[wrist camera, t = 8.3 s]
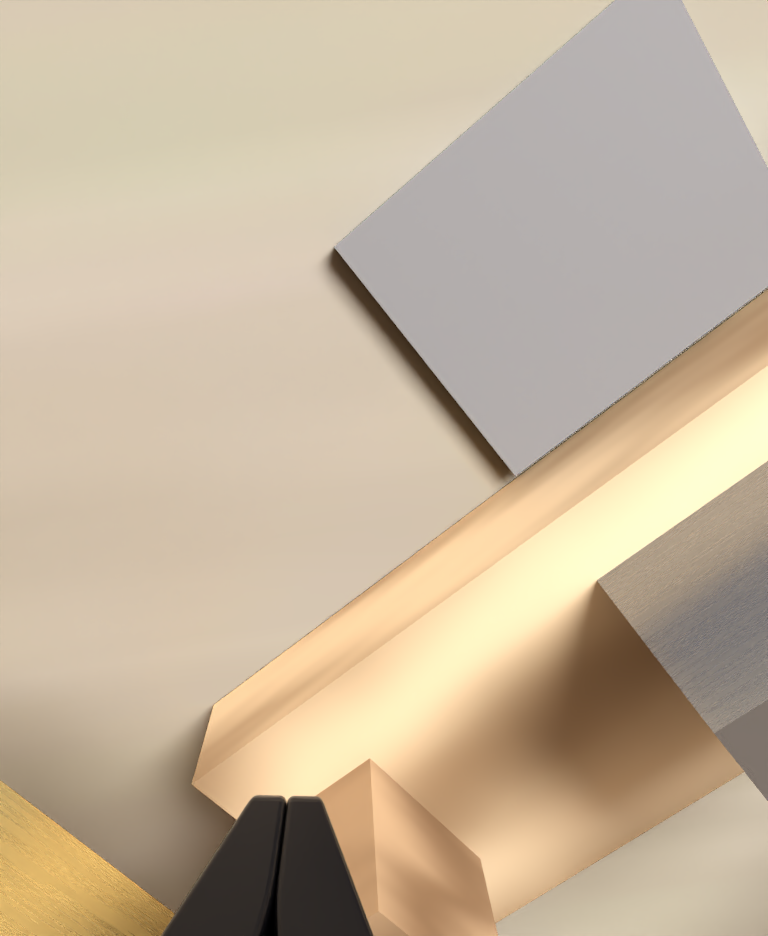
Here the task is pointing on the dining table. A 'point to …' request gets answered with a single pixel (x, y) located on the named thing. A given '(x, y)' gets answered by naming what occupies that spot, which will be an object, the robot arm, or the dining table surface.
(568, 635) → the body
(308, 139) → the dining table surface
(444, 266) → the pad
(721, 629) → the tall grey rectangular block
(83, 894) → the lever
